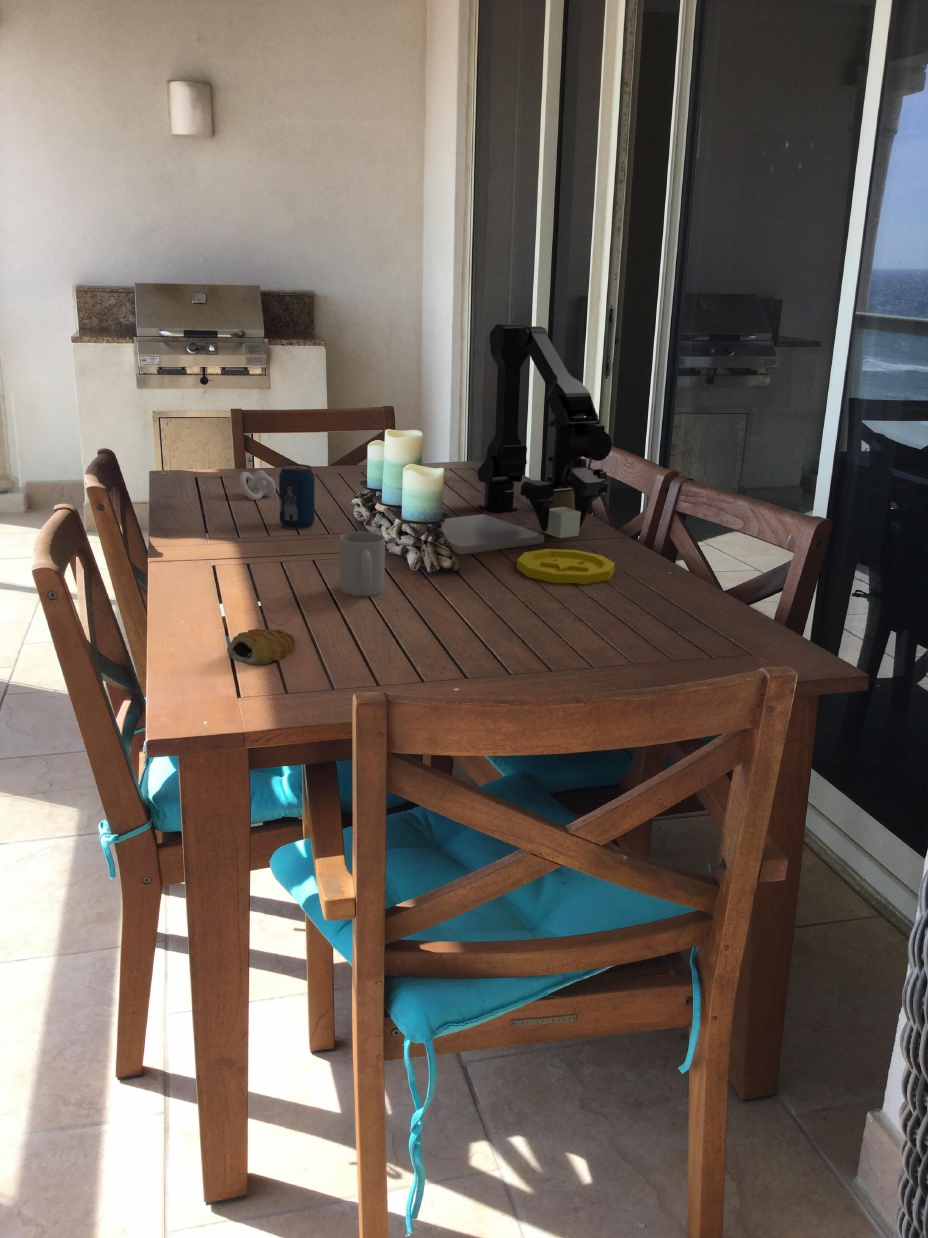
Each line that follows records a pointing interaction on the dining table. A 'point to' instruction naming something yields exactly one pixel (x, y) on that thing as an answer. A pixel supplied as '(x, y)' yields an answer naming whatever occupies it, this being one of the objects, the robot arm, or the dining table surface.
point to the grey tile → (486, 534)
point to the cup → (362, 563)
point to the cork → (563, 499)
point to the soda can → (296, 496)
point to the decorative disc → (565, 566)
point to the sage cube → (563, 522)
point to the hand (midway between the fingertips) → (561, 528)
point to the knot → (256, 485)
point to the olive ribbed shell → (261, 646)
